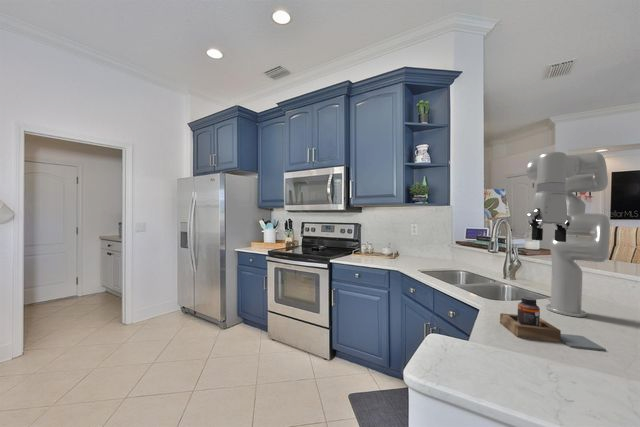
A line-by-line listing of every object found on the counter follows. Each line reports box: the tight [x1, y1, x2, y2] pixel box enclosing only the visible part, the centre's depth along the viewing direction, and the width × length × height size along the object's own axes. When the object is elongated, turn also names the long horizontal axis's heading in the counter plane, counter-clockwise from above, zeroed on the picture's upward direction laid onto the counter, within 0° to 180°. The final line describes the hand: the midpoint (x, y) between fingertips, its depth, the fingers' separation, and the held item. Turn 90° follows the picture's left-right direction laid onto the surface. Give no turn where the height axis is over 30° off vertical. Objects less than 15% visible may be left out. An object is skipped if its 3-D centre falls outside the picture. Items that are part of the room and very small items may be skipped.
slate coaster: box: [560, 333, 607, 352], centre depth 85 cm, size 9×9×1 cm
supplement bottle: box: [516, 296, 541, 326], centre depth 92 cm, size 6×6×11 cm
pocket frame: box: [499, 312, 562, 343], centre depth 92 cm, size 12×12×4 cm
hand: (548, 240), depth 91 cm, fingers open, 9 cm apart
